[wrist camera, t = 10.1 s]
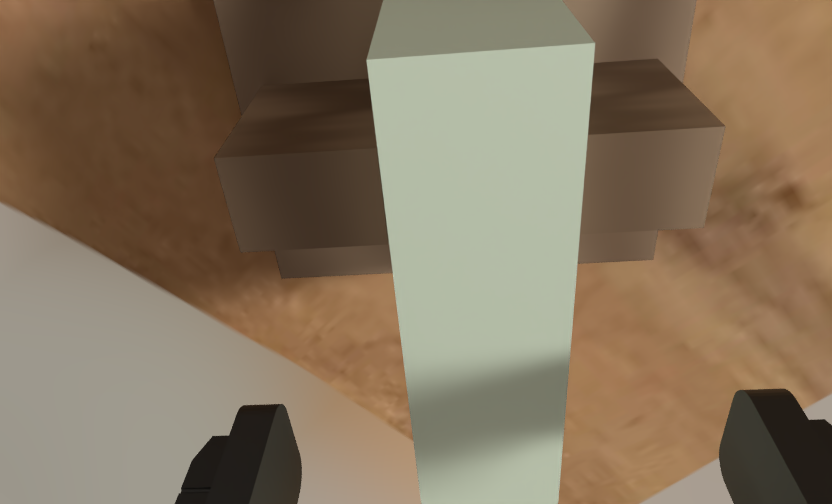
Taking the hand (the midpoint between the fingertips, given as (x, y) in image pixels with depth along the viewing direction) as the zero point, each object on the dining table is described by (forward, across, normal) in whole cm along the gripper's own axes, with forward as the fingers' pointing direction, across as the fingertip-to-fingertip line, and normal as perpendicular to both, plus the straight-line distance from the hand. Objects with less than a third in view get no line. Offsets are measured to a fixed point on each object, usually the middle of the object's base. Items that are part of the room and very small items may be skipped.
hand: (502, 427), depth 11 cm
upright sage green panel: (+14, 0, 0) cm, 14 cm away
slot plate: (+15, 0, 0) cm, 15 cm away
